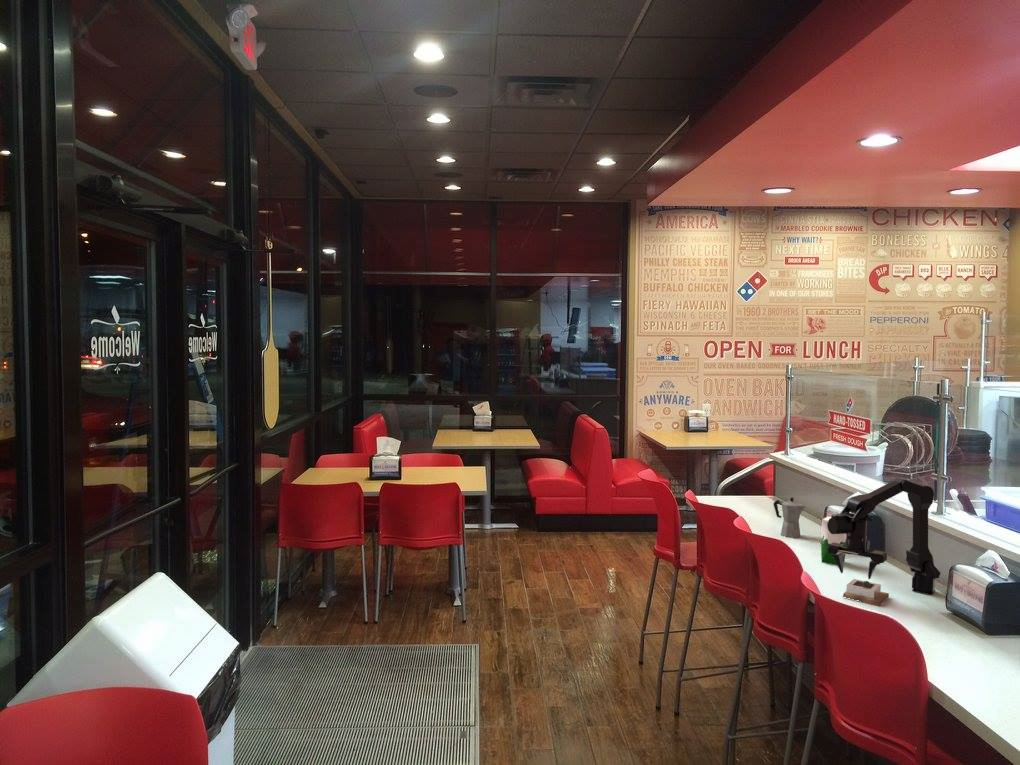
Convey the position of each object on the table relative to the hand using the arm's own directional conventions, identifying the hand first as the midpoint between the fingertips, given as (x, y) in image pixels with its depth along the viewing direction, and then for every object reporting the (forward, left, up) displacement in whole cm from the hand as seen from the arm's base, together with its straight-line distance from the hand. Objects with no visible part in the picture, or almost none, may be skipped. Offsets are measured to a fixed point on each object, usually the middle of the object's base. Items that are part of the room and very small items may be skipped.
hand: (855, 576), depth 260 cm
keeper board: (-4, 0, -7) cm, 8 cm away
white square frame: (-3, 0, -6) cm, 6 cm away
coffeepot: (+47, -66, -7) cm, 81 cm away
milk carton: (+18, -36, -7) cm, 41 cm away
